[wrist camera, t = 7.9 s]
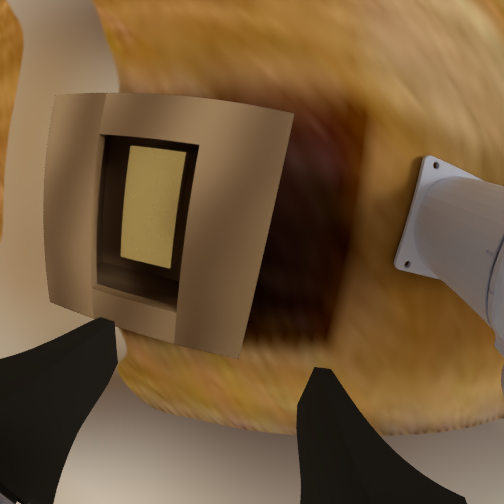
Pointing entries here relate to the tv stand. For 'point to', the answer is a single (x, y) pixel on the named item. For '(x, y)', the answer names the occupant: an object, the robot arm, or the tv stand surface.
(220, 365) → the tv stand surface
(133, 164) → the block
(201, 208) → the box
